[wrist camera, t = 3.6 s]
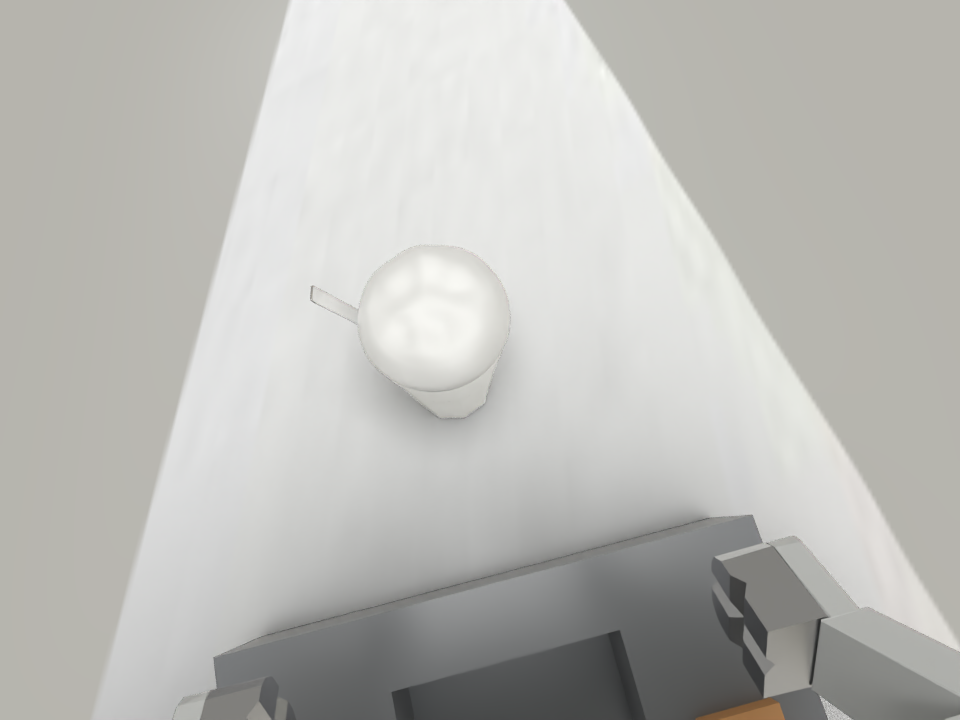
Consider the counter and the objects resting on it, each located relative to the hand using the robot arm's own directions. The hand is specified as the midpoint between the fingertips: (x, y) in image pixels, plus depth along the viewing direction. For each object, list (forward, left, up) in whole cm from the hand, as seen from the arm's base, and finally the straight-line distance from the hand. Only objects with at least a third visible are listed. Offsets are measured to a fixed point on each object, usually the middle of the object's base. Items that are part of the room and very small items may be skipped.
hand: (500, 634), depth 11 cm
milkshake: (0, +8, -13) cm, 15 cm away
